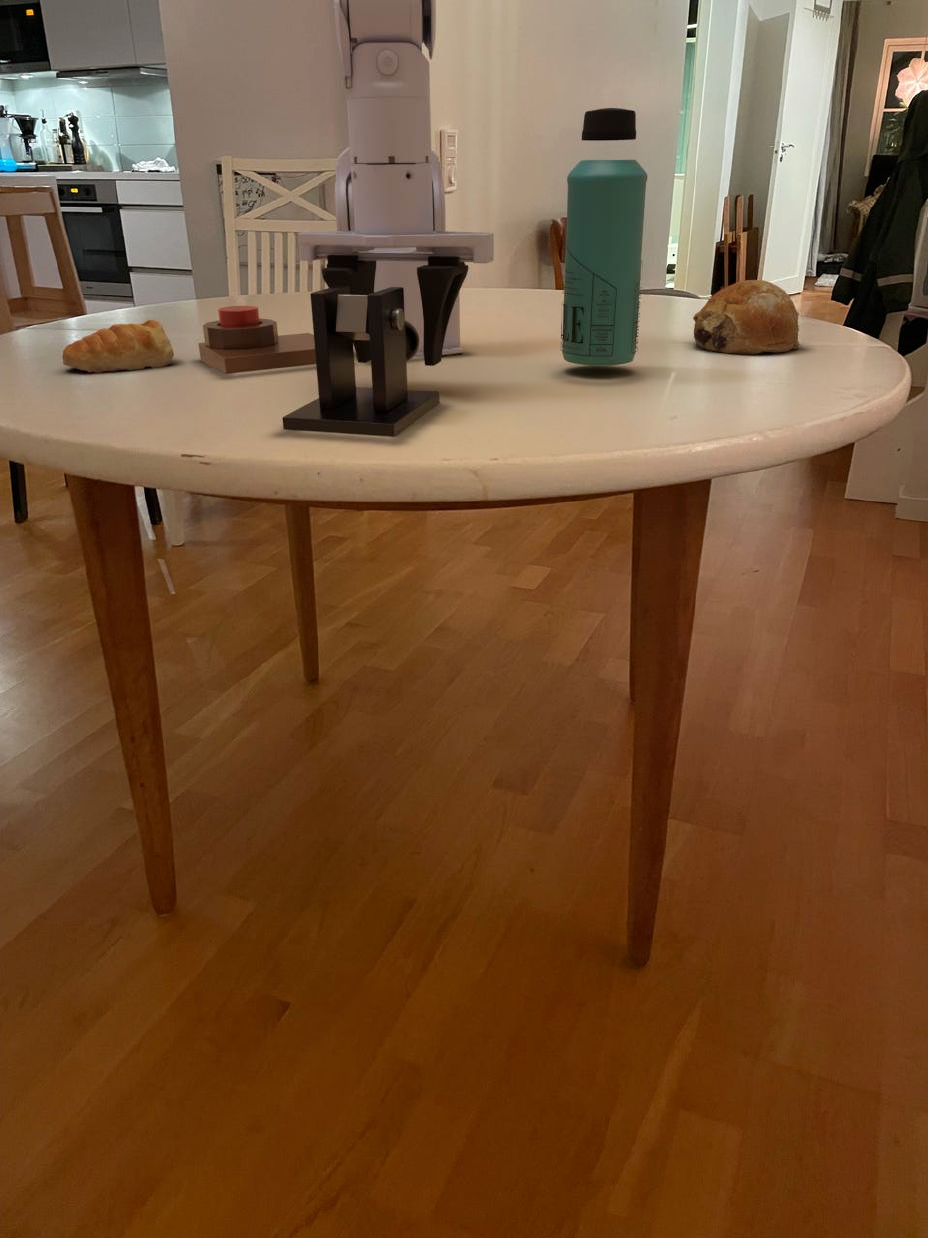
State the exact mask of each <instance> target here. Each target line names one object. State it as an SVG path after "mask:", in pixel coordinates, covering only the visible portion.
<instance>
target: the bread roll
mask: <svg viewBox="0 0 928 1238" xmlns="http://www.w3.org/2000/svg"><path fill="white" fill-rule="evenodd" d="M799 316H800V313H799V312H798V310H797V309H796V306H795V303H794V301H793V300H792V298H791V297H790V295H789V294H788V293H787V292H786V290H785V289H783V288H781V287H780V286H778V285H776V284H774V283H773V282H770V281H767V280H763V279H748V280H747V279H746V280H740V281H738V282H735V283H733V284H730V285H728V286H726V287H724V288H721V289H720V290H719V291H717V292H716V293H714V294H713V295H712V296H711V297H710V298H709V299H708V300H707V301H706V302H705V304H704V305H703V307H702V308H701V309H700V310H699V311H698V312H696V313H695V314H694V315H693V317H692V319H693V321H694V324H693V325H694V328H693V338H694V341H695V343H696V344H697V345H698V346H699V347H700V348H701V349H705V350H707V351H711V352H718V353H725V354H739V355H760V354H762V353H786V352H789V351H790V350H797V349H798V348H799V346H800V342H799V331H800V328H799V327H800V325H799Z"/></svg>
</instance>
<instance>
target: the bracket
mask: <svg viewBox="0 0 928 1238" xmlns="http://www.w3.org/2000/svg"><path fill="white" fill-rule="evenodd" d="M338 295H350V287H349V286H334V287H331V288H329V287H327V288H324V289H321V290H317V291H313V292H311V293H310V305H311V306H310V307H311V317H312V331H313V335H314V343H315V355H316V364H315V365H316V378H317V392H318V398H316V399H314V400H312V401H311V402H308V403H306V404H304V405H303V406H301V407H299V408H297V409H295V410H293V411H292V412H290V413H288V414H286V415H284V416H282V428H283V430H288V431H300V432H301V431H303V432H315V433H316V432H317V433H330V434H331V433H332V434H346V435H362V436H378V437H392V438H394V437H396V436H397V435H399V434H400V433H401V432H404V430H405V429H407V428H408V427H409V426H410V425H412V424H413V423H415V422H416V421H417V420H419V419H420V418H421V417H422V416H424V415H425V414H426V413H428V412H430V410H432V409H433V408H435V407H436V406H438V405H439V403H440V402H441V401H440V391H436V390H421V389H419V390H417V389H408V365H407V362H406V337H405V311H404V288H403V287H390V288H386V289H383V290H380V291H377V292H374V293H371V294H368V295H367V300H368V318H369V336H370V353H371V361H370V370H371V386H372V387H364V386H363V387H361V386H357V384H356V383H357V381H356V367H355V354H354V349H353V340H352V339H350V338H348V337H346V336H344V335H342V334H340V333H338V332H336V317H337V302H338Z"/></svg>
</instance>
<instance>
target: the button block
mask: <svg viewBox="0 0 928 1238" xmlns="http://www.w3.org/2000/svg"><path fill="white" fill-rule="evenodd" d="M259 321H260V324H259V325H254V326H244V327H224V326H220V321H219V320H212V321H208V322H205V324H203V325H202V329H203V337H204V342H198V351H199V357H200V362H201V363H203V364H204V365H206V366H208V367H210V368H211V369H212V368H216V369H218V370H220V371H221V372H223V373H224V374H227V375H228V374H236V373H244V372H255V371H264V370H273V369H282V368H291V367H303V366H309V365H311V366H312V365H316V355H315V343H314V333H310V332H303V333H292V334H291V333H290V334H281V335H279V332H278V322H277V321H275V320H273V319H270V318H260V317H259Z"/></svg>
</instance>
